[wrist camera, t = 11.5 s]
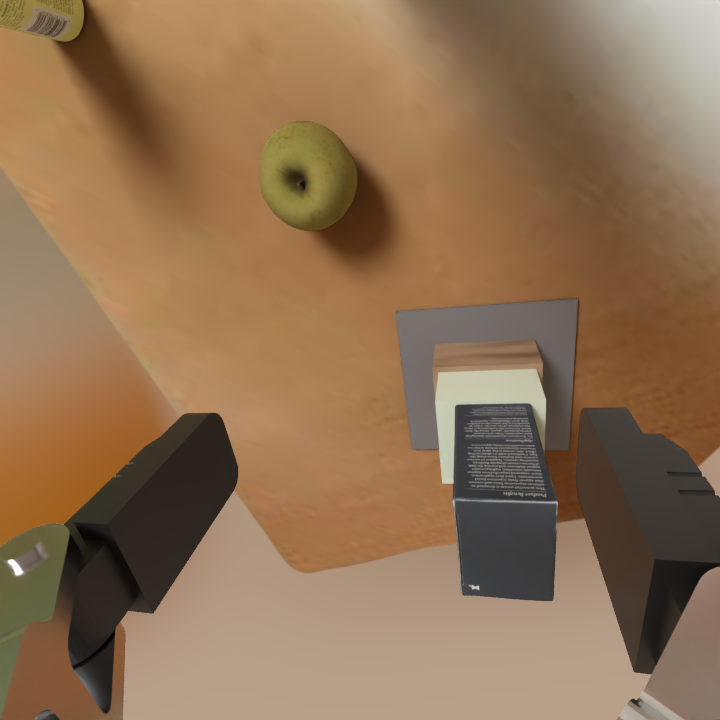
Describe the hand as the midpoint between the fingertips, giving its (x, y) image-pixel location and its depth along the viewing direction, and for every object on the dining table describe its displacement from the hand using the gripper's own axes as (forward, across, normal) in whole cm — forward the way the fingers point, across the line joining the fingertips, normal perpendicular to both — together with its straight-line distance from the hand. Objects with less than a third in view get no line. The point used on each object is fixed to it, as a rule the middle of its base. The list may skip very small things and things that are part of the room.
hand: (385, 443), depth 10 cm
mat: (+32, -3, +16) cm, 36 cm away
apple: (+32, +10, -5) cm, 34 cm away
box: (+22, -3, +16) cm, 27 cm away
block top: (+27, -3, +16) cm, 31 cm away
